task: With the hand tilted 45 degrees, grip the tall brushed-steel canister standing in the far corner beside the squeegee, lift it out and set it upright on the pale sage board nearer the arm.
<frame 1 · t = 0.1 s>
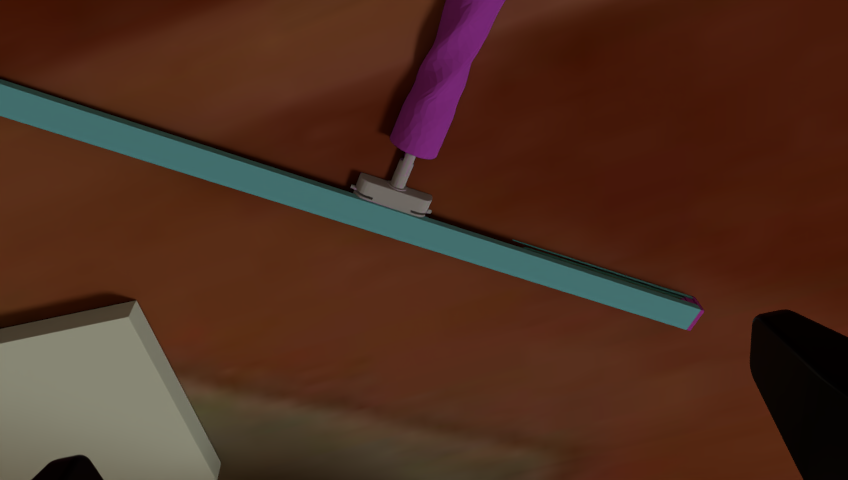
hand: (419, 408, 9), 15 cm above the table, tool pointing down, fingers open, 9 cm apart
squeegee: (391, 73, 23), on the table
sage board: (74, 410, 28), on the table
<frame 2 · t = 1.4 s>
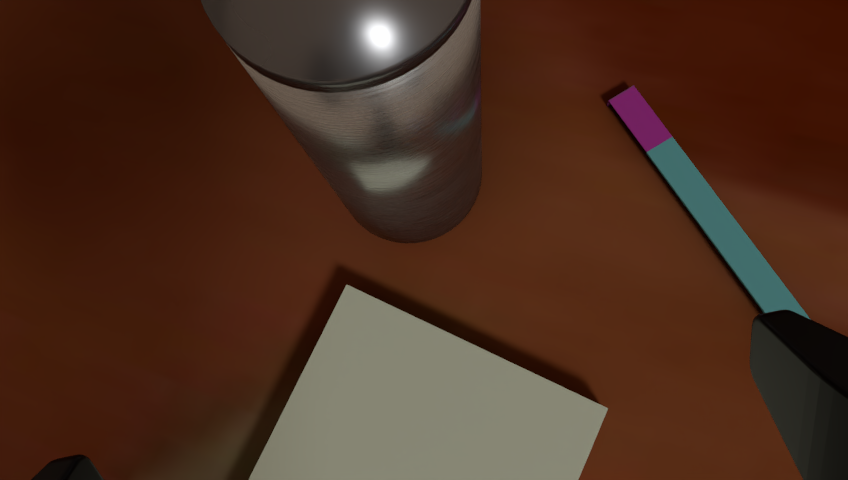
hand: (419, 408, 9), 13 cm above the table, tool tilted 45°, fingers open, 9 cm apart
sage board: (413, 475, 22), on the table
steel canister: (410, 173, 24), on the table
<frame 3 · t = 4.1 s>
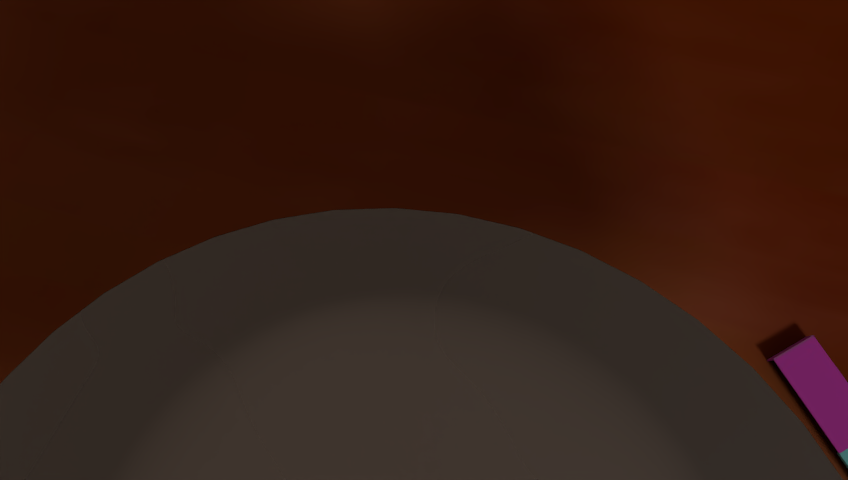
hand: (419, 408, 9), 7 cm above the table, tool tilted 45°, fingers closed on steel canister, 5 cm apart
steel canister: (458, 466, 15), on the table, touching gripper
when the fingers open (8 cm above the table, at t = 8.1 s): steel canister stays where it is, resting on sage board.
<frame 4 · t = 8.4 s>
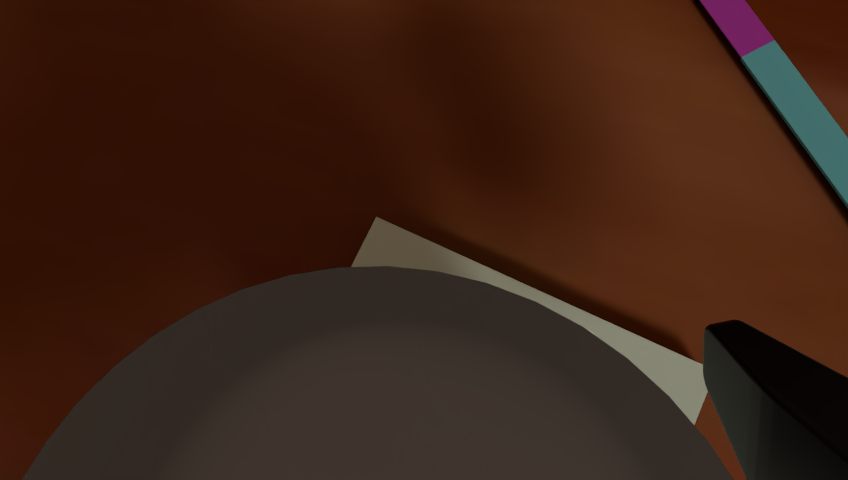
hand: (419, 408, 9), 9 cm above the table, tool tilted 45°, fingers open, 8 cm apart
sage board: (461, 458, 17), on the table
steel canister: (459, 466, 16), point 1 cm above the table, touching sage board
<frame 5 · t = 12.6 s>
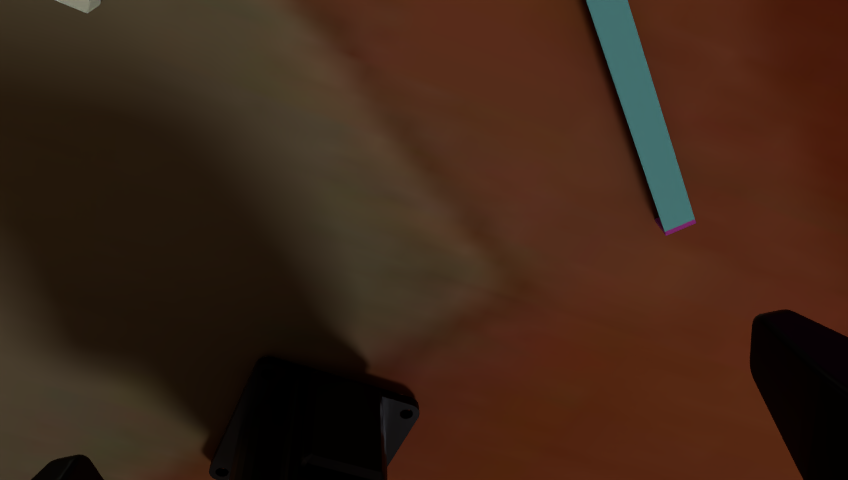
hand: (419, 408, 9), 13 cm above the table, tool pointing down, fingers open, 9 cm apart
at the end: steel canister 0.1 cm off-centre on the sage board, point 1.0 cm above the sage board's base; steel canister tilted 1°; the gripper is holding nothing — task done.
